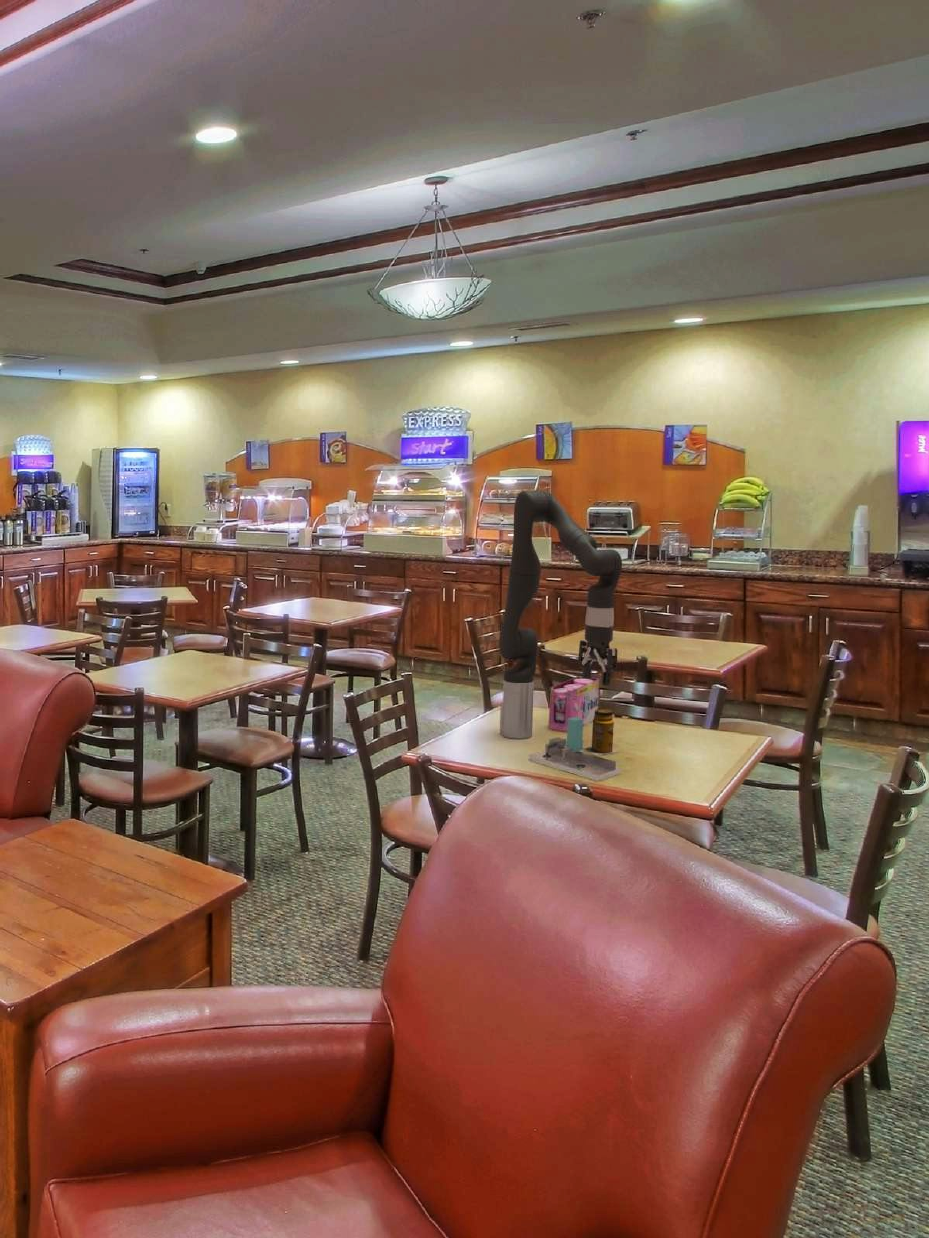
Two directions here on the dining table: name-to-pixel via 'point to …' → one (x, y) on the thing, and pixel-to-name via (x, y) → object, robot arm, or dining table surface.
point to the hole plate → (575, 761)
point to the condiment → (602, 733)
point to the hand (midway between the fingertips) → (596, 681)
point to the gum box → (573, 702)
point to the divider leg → (574, 736)
